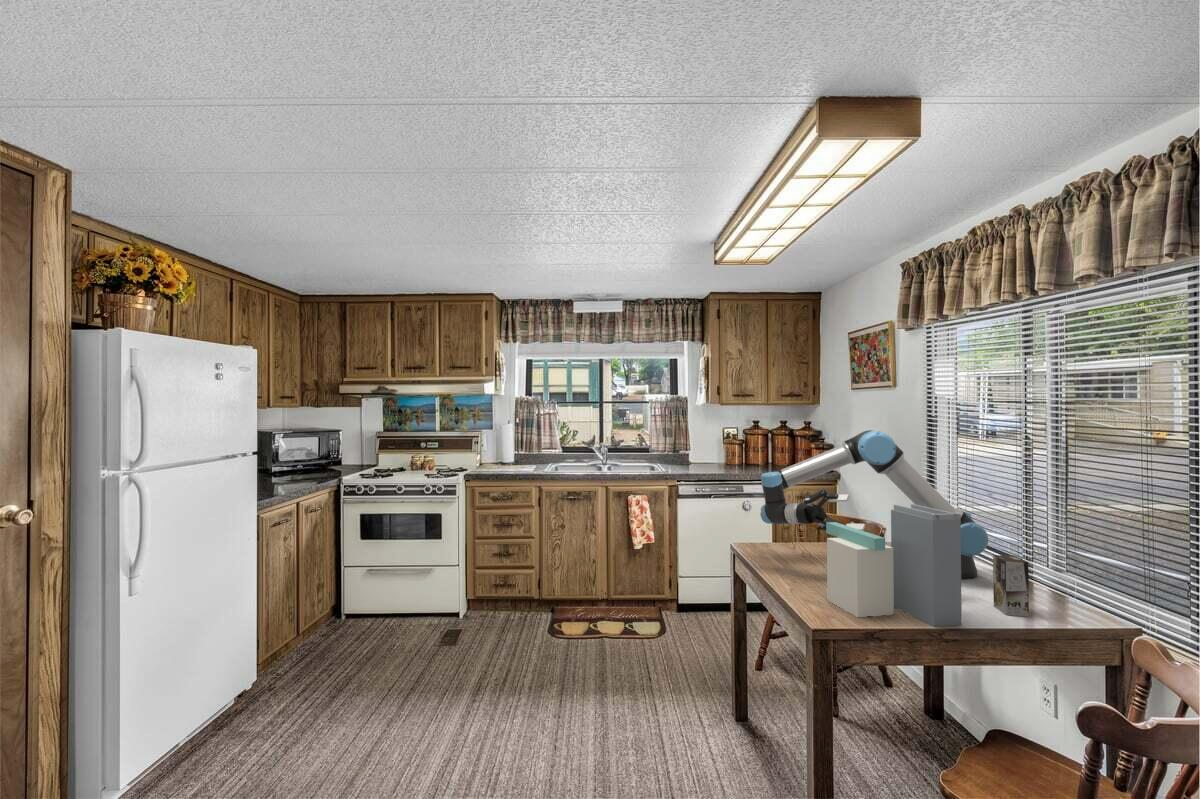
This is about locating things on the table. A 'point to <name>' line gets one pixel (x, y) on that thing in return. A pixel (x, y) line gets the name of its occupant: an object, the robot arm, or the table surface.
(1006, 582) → the coffee box
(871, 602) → the beige tall block
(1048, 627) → the table surface
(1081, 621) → the table surface
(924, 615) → the tall grey bin
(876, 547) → the lid bar
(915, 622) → the table surface
